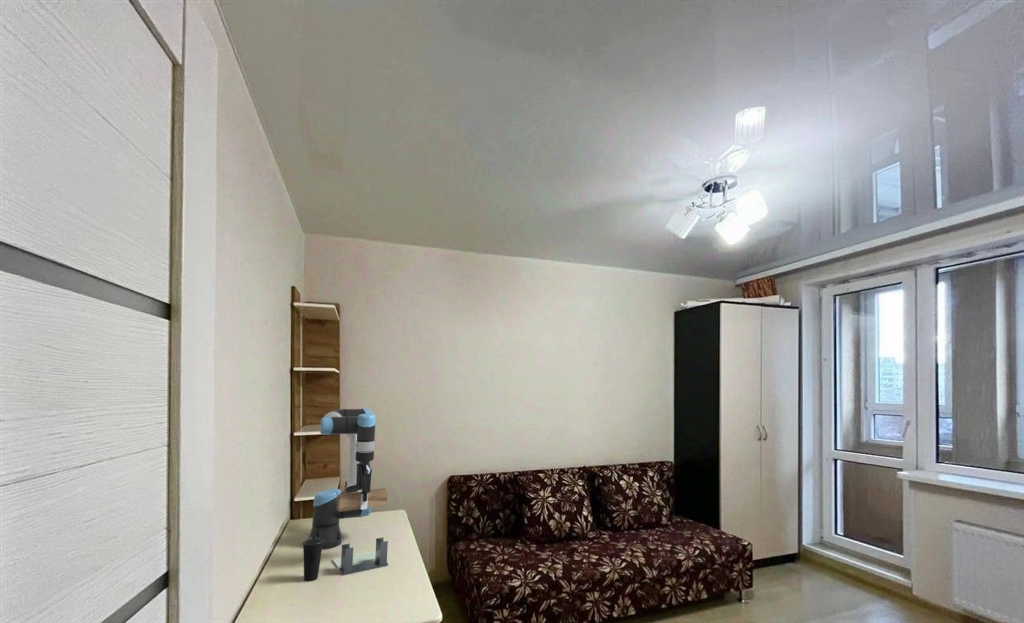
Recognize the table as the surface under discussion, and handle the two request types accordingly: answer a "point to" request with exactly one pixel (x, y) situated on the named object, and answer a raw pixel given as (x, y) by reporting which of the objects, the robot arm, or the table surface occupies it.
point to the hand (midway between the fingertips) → (362, 507)
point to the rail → (354, 499)
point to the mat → (357, 558)
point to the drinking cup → (312, 556)
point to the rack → (379, 561)
